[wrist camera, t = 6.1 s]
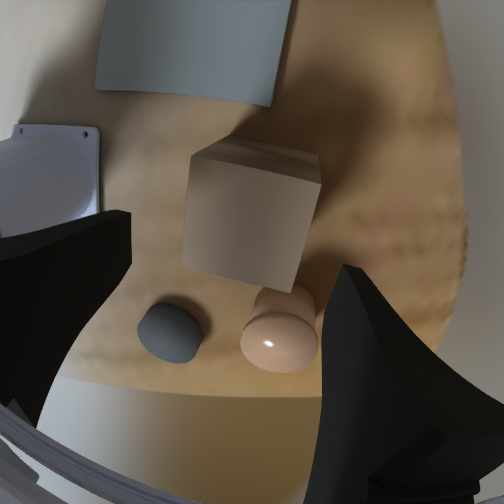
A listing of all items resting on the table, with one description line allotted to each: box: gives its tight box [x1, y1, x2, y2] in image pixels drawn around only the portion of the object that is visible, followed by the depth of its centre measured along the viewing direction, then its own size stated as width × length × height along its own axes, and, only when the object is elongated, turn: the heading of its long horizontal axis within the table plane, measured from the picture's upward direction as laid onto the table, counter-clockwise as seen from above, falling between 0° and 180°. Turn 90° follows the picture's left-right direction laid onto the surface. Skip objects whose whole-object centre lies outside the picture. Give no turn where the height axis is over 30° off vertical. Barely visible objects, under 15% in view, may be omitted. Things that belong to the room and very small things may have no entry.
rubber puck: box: [137, 304, 203, 363], centre depth 24 cm, size 5×5×2 cm
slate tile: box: [94, 0, 292, 107], centre depth 13 cm, size 11×11×1 cm
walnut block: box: [181, 135, 322, 293], centre depth 15 cm, size 5×5×6 cm
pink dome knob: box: [240, 283, 318, 373], centre depth 20 cm, size 5×5×4 cm
